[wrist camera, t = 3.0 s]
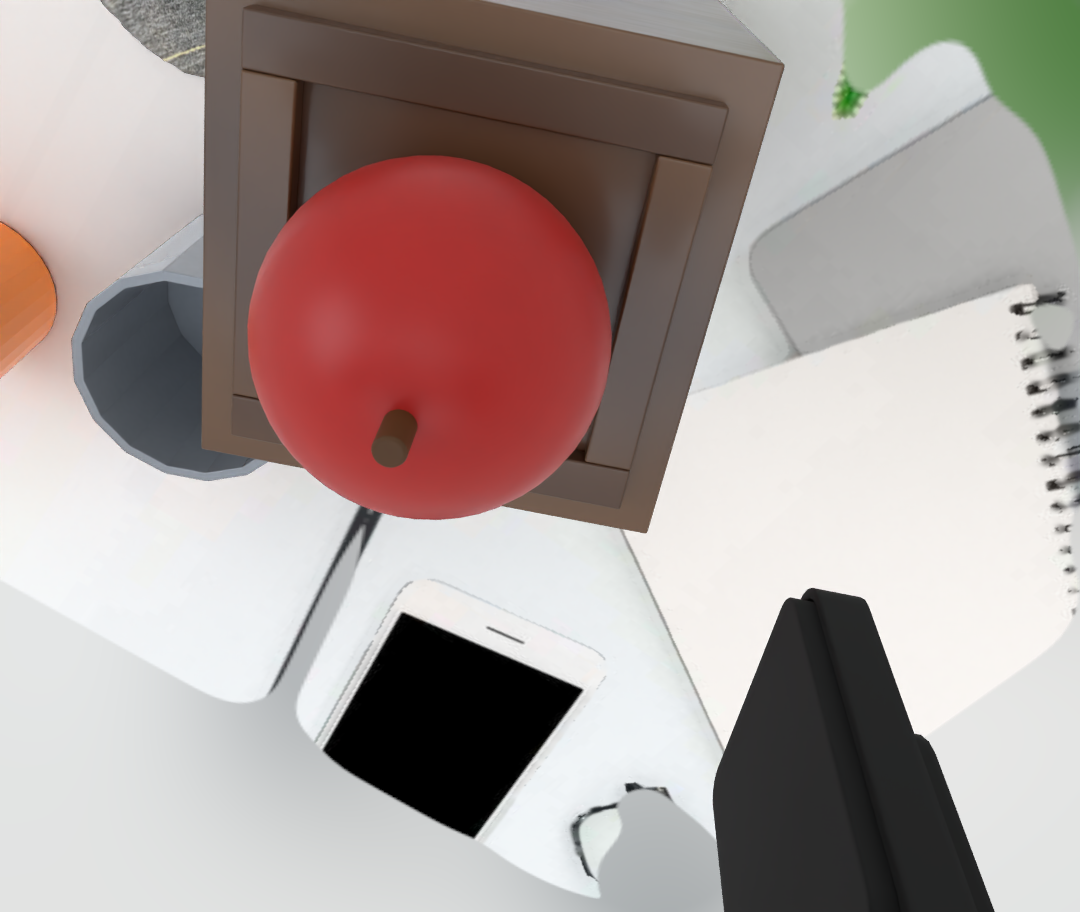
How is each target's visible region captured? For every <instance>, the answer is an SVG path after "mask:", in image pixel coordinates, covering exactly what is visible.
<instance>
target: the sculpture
mask: <svg viewBox="0 0 1080 912" xmlns="http://www.w3.org/2000/svg"><path fill="white" fill-rule="evenodd" d="M101 2H102V3H103V5H104V6H105V7H106V8H107V9H108V10H109V11H110V12H111V13H112V14H113V15H114V16H115V17H117V18H118V19H119V20H120V22H121V23H122V25H123V27H124V28H125V29H126V30H128V31H129V32H130V33H131V34H132V35H133V36H134V37H135V38H136V39H138V40H139V41H140V42H141V44H143V45H144V46H145V47H146V48H147V49H149V50H150V51H152V52H153V53H154V54H155V55H157V56H159V57H160V58H161V59H163V60H164V61H166V62H169V63H171V64H173V65H174V66H176V67H177V68H179V69H180V70H181V71H183V72H184V73H188V74H192V75H197V76H201V77H205V13H206V0H101Z"/></svg>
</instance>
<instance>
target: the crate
mask: <svg viewBox="0 0 1080 912" xmlns="http://www.w3.org/2000/svg"><path fill="white" fill-rule="evenodd" d="M783 70H784V64H783V63H782V62H781V61H780V60H779V59H778V58H777V57H776V56H775V55H774V54H773V53H772V52H771V51H770V50H769V49H768V48H767V47H766V46H765V45H764V44H763V43H762V42H761V41H760V40H759V39H758V38H757V37H756V36H755V35H754V34H753V33H752V32H751V31H750V30H749V29H748V28H747V27H746V26H745V25H744V24H743V23H741V22H740V21H739V20H738V19H737V18H736V17H735V16H734V15H733V14H732V13H731V12H730V11H729V10H728V9H727V8H726V7H725V6H724V5H723V4H722V3H721V2H720V1H719V0H206V13H205V118H204V223H203V328H202V432H201V447H202V449H206V450H211V451H216V452H221V453H227V454H232V455H237V456H242V457H248V458H253V459H258V460H263V461H269V462H274V463H279V464H284V465H289V466H295V467H300V468H304V467H303V466H302V465H301V464H300V463H299V462H298V461H297V460H296V459H295V458H294V457H293V456H292V455H291V453H290V452H289V451H288V450H287V448H286V447H285V446H284V445H283V444H282V442H281V441H280V439H279V438H278V436H277V434H276V433H275V431H274V430H273V428H272V426H271V425H270V423H269V421H268V419H267V416H266V414H265V412H264V410H263V408H262V406H261V403H260V400H259V398H258V395H257V392H256V389H255V385H254V382H253V379H252V374H251V369H250V363H249V357H248V329H247V325H248V316H249V306H250V301H251V297H252V294H253V290H254V286H255V282H256V279H257V275H258V272H259V270H260V268H261V265H262V263H263V261H264V258H265V256H266V254H267V252H268V250H269V248H270V247H271V245H272V244H273V242H274V240H275V239H276V237H277V236H278V234H279V232H280V231H281V230H282V228H283V227H284V225H285V224H286V223H287V222H288V221H289V219H290V218H291V217H292V216H293V215H294V214H295V212H296V211H297V210H298V209H299V208H300V207H301V206H302V205H303V204H304V203H306V202H307V201H308V200H309V199H310V198H311V197H312V196H314V195H315V194H316V193H317V192H319V191H320V190H322V189H323V188H324V187H326V186H328V185H329V184H331V183H332V182H334V181H336V180H337V179H339V178H340V177H342V176H343V175H346V174H348V173H350V172H352V171H355V170H357V169H359V168H361V167H364V166H366V165H370V164H374V163H377V162H381V161H384V160H388V159H394V158H402V157H409V156H417V155H436V156H448V157H455V158H462V159H467V160H470V161H474V162H478V163H481V164H485V165H488V166H490V167H493V168H495V169H498V170H500V171H502V172H505V173H507V174H509V175H511V176H513V177H515V178H516V179H518V180H520V181H521V182H523V183H525V184H527V185H528V186H530V187H531V188H532V189H534V190H535V191H536V192H538V193H539V194H540V195H542V196H543V197H544V198H546V199H547V200H548V201H549V202H550V203H551V204H552V205H553V206H554V207H555V208H556V209H557V210H558V211H559V212H560V213H561V214H562V215H563V216H564V217H565V218H566V219H567V221H568V222H569V223H570V225H571V226H572V227H573V229H574V230H575V231H576V232H577V234H578V235H579V236H580V238H581V239H582V241H583V243H584V244H585V246H586V248H587V250H588V251H589V253H590V255H591V257H592V258H593V260H594V262H595V265H596V267H597V270H598V272H599V275H600V277H601V279H602V283H603V286H604V290H605V294H606V298H607V302H608V307H609V314H610V323H611V331H612V341H611V359H610V365H609V371H608V377H607V382H606V387H605V390H604V393H603V396H602V399H601V403H600V406H599V408H598V410H597V412H596V414H595V416H594V418H593V420H592V422H591V424H590V426H589V428H588V430H587V432H586V434H585V435H584V437H583V438H582V440H581V441H580V443H579V444H578V446H577V447H576V449H575V450H574V451H573V452H572V453H571V455H570V456H569V457H568V458H567V459H566V460H565V461H564V462H563V463H562V464H561V466H560V467H559V468H558V469H557V470H556V471H555V472H554V473H553V474H551V475H550V476H549V477H548V478H547V479H545V480H544V481H543V482H542V483H541V484H539V485H538V486H537V487H535V488H533V489H532V490H530V491H529V492H527V493H526V494H524V495H522V496H521V497H519V498H517V499H515V500H513V501H510V502H508V503H506V504H504V505H502V506H505V507H510V508H515V509H520V510H525V511H531V512H536V513H541V514H546V515H552V516H557V517H562V518H567V519H573V520H578V521H583V522H588V523H594V524H599V525H604V526H609V527H615V528H620V529H625V530H630V531H636V532H641V533H647V531H648V528H649V525H650V521H651V518H652V515H653V511H654V508H655V504H656V501H657V498H658V494H659V491H660V487H661V484H662V481H663V477H664V474H665V470H666V467H667V464H668V460H669V457H670V454H671V450H672V447H673V443H674V440H675V437H676V433H677V430H678V426H679V423H680V420H681V416H682V413H683V409H684V406H685V403H686V399H687V396H688V392H689V389H690V386H691V382H692V379H693V376H694V372H695V369H696V365H697V362H698V359H699V355H700V352H701V348H702V345H703V342H704V338H705V335H706V331H707V328H708V325H709V321H710V318H711V314H712V311H713V308H714V304H715V301H716V297H717V294H718V291H719V287H720V284H721V281H722V277H723V274H724V270H725V267H726V264H727V260H728V257H729V253H730V250H731V247H732V243H733V240H734V236H735V233H736V230H737V226H738V223H739V219H740V216H741V213H742V209H743V206H744V202H745V199H746V196H747V192H748V189H749V186H750V182H751V179H752V175H753V172H754V169H755V165H756V162H757V158H758V155H759V152H760V148H761V145H762V141H763V138H764V135H765V131H766V128H767V124H768V121H769V118H770V114H771V111H772V108H773V104H774V101H775V97H776V94H777V91H778V87H779V84H780V80H781V77H782V74H783Z"/></svg>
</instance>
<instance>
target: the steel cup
mask: <svg viewBox="0 0 1080 912" xmlns="http://www.w3.org/2000/svg"><path fill="white" fill-rule="evenodd" d="M203 223H204V214H202V215H200V216H198V217H197V218H196V219H194V220H193V221H192V222H191V223H189V224H188V225H187V226H185V227H184V228H183V229H181V230H180V231H179V232H178V233H176V234H175V235H174V236H172V237H171V238H170V239H169V240H167V241H166V242H165V243H163V244H162V245H161V246H160V247H158V248H157V249H156V250H154V251H153V252H152V253H151V254H149V255H148V256H147V257H145V258H144V259H143V260H142V261H140V262H139V263H138V264H137V265H135V266H134V267H133V268H131V269H130V270H129V271H128V272H126V273H125V274H124V275H122V276H121V277H120V278H119V279H117V280H116V281H115V282H113V283H112V284H111V285H110V286H108V287H107V288H106V289H104V290H103V291H102V292H101V293H99V294H98V295H97V296H96V297H94V298H93V299H92V300H90V301H89V302H88V303H87V304H86V306H85V309H84V311H83V313H82V316H81V318H80V320H79V323H78V325H77V327H76V330H75V332H74V334H73V337H72V340H71V342H72V358H73V373H74V381H75V383H76V386H77V388H78V390H79V392H80V394H81V396H82V398H83V400H84V402H85V404H86V406H87V408H88V410H89V412H90V414H91V416H92V418H93V419H94V421H95V422H96V423H97V424H98V425H99V426H100V427H101V428H102V429H103V430H104V431H105V432H106V433H107V434H108V435H109V436H110V437H111V438H112V439H113V440H114V441H115V442H116V443H117V444H118V445H119V446H120V447H121V448H122V449H123V450H124V451H126V453H128V454H130V455H132V456H134V457H136V458H138V459H140V460H141V461H143V462H145V463H147V464H149V465H151V466H153V467H155V468H156V469H158V470H160V471H162V472H164V473H167V474H172V475H178V476H183V477H188V478H193V479H199V480H204V481H212V480H218V479H224V478H231V477H237V476H243V475H248V474H250V473H251V472H253V471H254V470H256V469H258V468H259V467H261V466H262V465H264V464H265V463H267V462H269V461H263V460H258V459H253V458H248V457H242V456H237V455H232V454H227V453H221V452H216V451H211V450H206V449H202V447H201V432H202V328H203Z"/></svg>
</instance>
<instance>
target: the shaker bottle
mask: <svg viewBox="0 0 1080 912" xmlns="http://www.w3.org/2000/svg"><path fill="white" fill-rule="evenodd" d="M56 303H57V299H56V293H55V287H54V284H53V281H52V278H51V276H50V273H49V271H48V269H47V267H46V266H45V264H44V262H43V260H42V259H41V257H40V256H39V255H38V253H37V252H36V251H35V250H34V248H33V247H32V246H31V245H30V244H29V243H28V242H27V241H26V240H25V239H24V238H23V237H21V236H20V235H19V234H18V233H17V232H15V231H14V230H12V229H11V228H9V227H8V226H6V225H5V224H3V223H1V222H0V379H1V378H2V377H3V376H4V375H5V374H6V373H7V372H8V371H9V370H10V369H11V368H13V367H14V366H15V365H16V364H17V363H18V362H19V361H20V360H21V359H22V358H23V357H25V356H26V355H27V354H28V353H29V352H30V351H31V350H32V349H33V348H34V347H35V346H36V345H38V344H39V343H40V342H41V341H42V340H43V339H44V338H45V337H46V336H47V334H48V332H49V330H50V329H51V327H52V325H53V322H54V318H55V315H56Z"/></svg>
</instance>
